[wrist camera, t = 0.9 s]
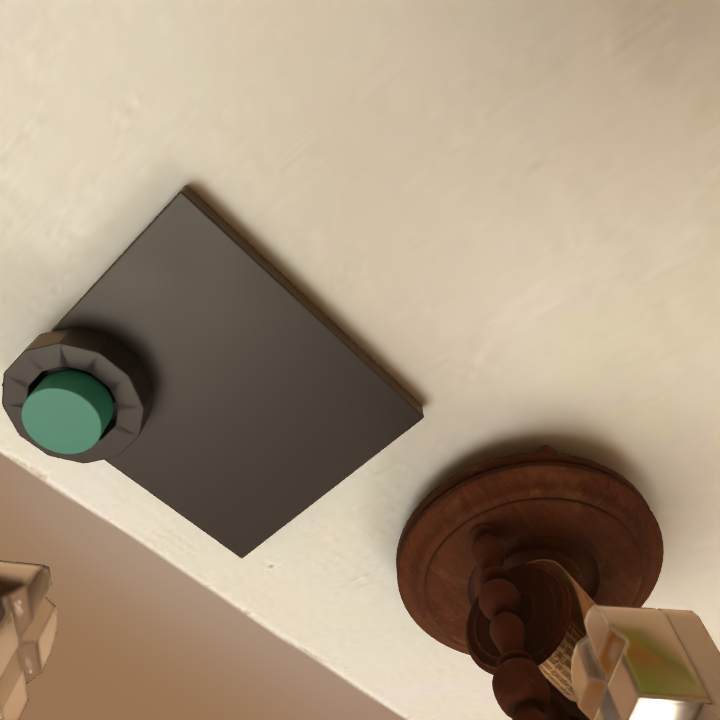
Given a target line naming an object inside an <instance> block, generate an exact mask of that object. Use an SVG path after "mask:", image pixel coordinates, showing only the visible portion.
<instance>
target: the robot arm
mask: <svg viewBox="0 0 720 720" xmlns="http://www.w3.org/2000/svg"><path fill="white" fill-rule="evenodd" d="M51 585H52V580H51V575H50V570H49V567H47V566H45V565H41V564H31V563H20V562H10V561H1V560H0V720H19V719H20V717H21V715H22V713H23V711H24V709H25V707H26V705H27V703H28V701H29V700H28V695H27V689H26V684H27V683H29V682H30V681H32V680H33V679H34V678H36V677H37V676H38V675H40V674H41V673H42V672H43V670H44V668H45V665H46V663H47V661H48V659H49V657H50V655H51V651H52V647H53V643H54V639H55V635H56V627H57V614H56V606H55V605H54V604H53V603H52V602H51V601H50V600H49V599H48V598H47V597H46V595H47V593H48V591H49V589H50V587H51ZM584 624H585V627H586V629H587V632H588V635H586V636H585V637H584V638H582V639H581V640H579V641H578V642H577V643H576V646H575V649H574V652H573V655H572V661H571V680H572V686H573V692H574V696H575V699H576V702H577V705H578V708H579V709H580V710H581V711H582V712H583V713H584V714H585V715H586V716H587V717H588V718H589V719H590V720H720V652H719V650H718V649H717V647H716V645H715V644H714V642H713V640H712V638H711V637H710V635H709V633H708V631H707V630H706V628H705V626H704V624H703V623H702V621H701V619H700V618H699V616H697V615H696V614H695V613H694V612H693V611H688V610H672V609H655V608H642V607H626V606H610V605H593V606H592V607H591V608H590V609H589V610H588V612H587V615H586V618H585V620H584Z"/></svg>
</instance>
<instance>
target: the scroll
mask: <svg viewBox="0 0 720 720" xmlns="http://www.w3.org/2000/svg"><path fill="white" fill-rule="evenodd" d="M662 562H663V540H662V535H661V531H660V528H659V525H658V522H657V520H656V518H655V517H654V515H653V513H652V511H651V510H650V508H649V506H648V504H647V502H646V501H645V499H644V498H643V496H642V495H641V494H640V492H639V491H638V490H637V489H636V488H635V487H634V486H633V485H632V484H631V483H630V482H629V481H627V480H626V479H625V478H624V477H622V476H621V475H619V474H618V473H617V472H615V471H613V470H611V469H609V468H608V467H606V466H604V465H601V464H599V463H596V462H594V461H591V460H588V459H584V458H581V457H576V456H571V455H566V454H558V453H557V451H556V450H554V449H553V448H552V447H550V446H548V445H544V446H542V447H541V448H540V451H539V453H525V454H517V455H511V456H506V457H501V458H497V459H494V460H490V461H487V462H484V463H481V464H478V465H476V466H473V467H471V468H469V469H467V470H465V471H462V472H460V473H459V474H457V475H455V476H453V477H452V478H450V479H448V480H447V481H446V482H444V483H443V484H441V485H440V486H438V487H437V488H436V489H435V490H434V491H432V492H431V493H430V494H429V495H428V496H427V497H426V498H425V499H424V500H423V501H422V502H421V503H420V504H419V506H418V507H417V508H416V509H415V510H414V512H413V513H412V515H411V516H410V518H409V519H408V521H407V523H406V525H405V527H404V529H403V531H402V534H401V537H400V540H399V544H398V548H397V557H396V567H397V580H398V587H399V592H400V595H401V598H402V601H403V603H404V605H405V607H406V609H407V611H408V612H409V614H410V616H411V617H412V618H413V619H414V621H415V622H416V623H417V624H418V625H419V626H420V627H421V628H422V629H423V630H424V631H425V632H426V633H427V634H429V635H430V636H431V637H433V638H434V639H436V640H437V641H439V642H440V643H442V644H444V645H446V646H448V647H450V648H452V649H455V650H457V651H459V652H462V653H465V654H468V655H471V657H472V659H473V660H474V662H475V663H476V664H477V665H478V666H479V667H480V668H481V669H483V670H484V671H486V672H488V673H490V674H492V675H494V676H493V681H492V686H493V691H494V695H495V697H496V700H497V702H498V704H499V705H500V707H501V709H502V710H503V711H504V712H505V714H506V715H507V716H509V717H511V718H512V720H590V719H589V718H588V717H587V716H586V715H585V714H584V713H583V712H582V711H581V710H580V709H579V708H578V705H577V702H576V699H575V696H574V692H573V686H572V680H571V661H572V655H573V652H574V649H575V646H576V643H577V642H578V641H579V640H581V639H582V638H584V637H585V636H586V635H588V632H587V629H586V627H585V624H584V620H585V618H586V615H587V612H588V610H589V609H590V608H591V607H592V606H593V605H610V606H626V607H642V605H643V604H644V603H645V601H646V600H647V599H648V597H649V595H650V594H651V592H652V591H653V589H654V587H655V585H656V582H657V580H658V577H659V574H660V572H661V567H662Z"/></svg>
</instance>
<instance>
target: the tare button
mask: <svg viewBox="0 0 720 720" xmlns="http://www.w3.org/2000/svg"><path fill="white" fill-rule="evenodd" d="M112 415H113V401H112V398H111V395H110V393H109V392H108V390H107V389H106V387H105V386H104V385H103V384H102V383H101V382H100V381H98V380H97V379H96V378H94V377H92V376H91V375H89V374H86V373H84V372H80V371H76V370H61V371H57V372H53V373H51V374H49V375H48V376H46V377H45V378H44V379H43V380H42V381H41V382H40V384H39V385H38V386H37V387H36V388H35V389H34V391H33V392H32V393H31V394H30V395H29V397H28V398H27V399H26V400H25V402H24V404H23V407H22V412H21V417H22V422H23V425H24V427H25V430H26V431H27V433H28V434H29V435H30V437H31V438H32V439H33V440H34V441H35V442H37V443H38V444H39V445H41V446H43V447H44V448H46V449H48V450H51V451H53V452H57V453H62V454H76V453H81V452H84V451H86V450H88V449H90V448H91V447H93V446H94V445H95V444H96V443H97V442H98V440H99V438H100V437H101V435H102V433H103V432H104V430H105V428H106V427H107V425H108V423H109V422H110V420H111V418H112Z"/></svg>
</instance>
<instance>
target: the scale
mask: <svg viewBox="0 0 720 720" xmlns="http://www.w3.org/2000/svg"><path fill="white" fill-rule="evenodd" d="M61 370H76V371H80V372H84V373H86V374H89V375H91V376H92V377H94V378H96V379H97V380H98V381H100V382H101V383H102V384H103V385H104V386H105V387H106V389H107V390H108V392H109V393H110V395H111V398H112V401H113V415H112V418H111V420H110V422H109V423H108V425H107V427H106V428H105V430H104V432H103V433H102V435H101V437H100V438H99V440H98V442H97V443H96V444H95V445H94V446H93V447H91V448H90V449H88V450H86V451H84V452H81V453H76V454H62V453H57V452H53V451H51V450H48V449H46V448H44V447H43V446H41V445H39V444H38V443H37V442H35V441H34V440H33V439H32V438H31V437H30V435H29V434H28V433H27V431H26V430H25V427H24V425H23V422H22V417H21V412H22V407H23V404H24V402H25V400H26V399H27V398H28V397H29V395H30V394H31V393H32V392H33V391H34V389H35V388H36V387H37V386H38V385H39V384H40V382H41V381H42V380H43V379H44V378H45V377H46V376H48V375H49V374H51V373H53V372H57V371H61ZM2 386H3V396H2V404H3V407H4V409H5V411H6V413H7V414H8V416H9V418H10V420H11V421H12V423H13V425H14V427H15V428H16V430H17V432H18V433H19V435H20V436H21V437H23V438H24V439H26V440H27V441H28V442H30V443H31V444H33V445H34V446H36V447H37V448H38V449H40V450H41V451H43V452H44V453H46V454H47V455H50V456H53V457H57V458H62V459H66V460H71V461H75V462H80V463H89V462H94V461H99V460H103V459H104V460H106V461H107V462H108V463H110V464H111V465H112V466H114V467H115V468H117V469H118V470H119V471H121V472H122V473H124V474H125V475H126V476H128V477H129V478H131V479H132V480H133V481H135V482H136V483H138V484H139V485H140V486H142V487H143V488H144V489H146V490H147V491H149V492H150V493H151V494H153V495H154V496H156V497H157V498H158V499H160V500H161V501H163V502H164V503H165V504H167V505H168V506H169V507H171V508H172V509H174V510H175V511H176V512H178V513H179V514H181V515H182V516H183V517H185V518H186V519H188V520H189V521H190V522H192V523H193V524H194V525H196V526H197V527H199V528H200V529H201V530H203V531H204V532H206V533H207V534H208V535H210V536H211V537H213V538H214V539H215V540H217V541H218V542H219V543H221V544H222V545H224V546H225V547H226V548H228V549H229V550H231V551H232V552H233V553H235V554H236V555H238V556H239V557H240V558H243V557H245V556H246V555H247V554H248V553H250V552H251V551H252V550H254V549H255V548H256V547H257V546H259V545H260V544H261V543H263V542H264V541H265V540H266V539H268V538H269V537H270V536H272V535H273V534H274V533H276V532H277V531H278V530H279V529H281V528H282V527H283V526H285V525H286V524H287V523H288V522H290V521H291V520H292V519H294V518H295V517H296V516H297V515H299V514H300V513H301V512H303V511H304V510H305V509H306V508H308V507H309V506H310V505H312V504H313V503H314V502H315V501H317V500H318V499H319V498H321V497H322V496H323V495H325V494H326V493H327V492H328V491H330V490H331V489H332V488H334V487H335V486H336V485H337V484H339V483H340V482H341V481H343V480H344V479H345V478H346V477H348V476H349V475H350V474H352V473H353V472H354V471H355V470H357V469H358V468H359V467H361V466H362V465H363V464H364V463H366V462H367V461H368V460H370V459H371V458H372V457H373V456H375V455H376V454H377V453H379V452H380V451H381V450H383V449H384V448H385V447H386V446H388V445H389V444H390V443H392V442H393V441H394V440H395V439H397V438H398V437H399V436H401V435H402V434H403V433H404V432H406V431H407V430H408V429H410V428H411V427H412V426H413V425H415V424H416V423H417V422H419V421H420V420H421V419H422V418H423V417H424V414H423V408H422V405H421V404H420V403H419V402H418V401H417V400H416V399H415V398H414V397H412V396H411V395H410V394H409V393H408V392H407V391H406V390H405V389H404V388H403V387H402V386H401V385H400V384H399V383H398V382H396V381H395V380H394V379H393V378H392V377H391V376H390V375H389V374H388V373H387V372H386V371H385V370H384V369H383V368H382V367H380V366H379V365H378V364H377V363H376V362H375V361H374V360H373V359H372V358H371V357H370V356H369V355H368V354H367V353H366V352H364V351H363V350H362V349H361V348H360V347H359V346H358V345H357V344H356V343H355V342H354V341H353V340H352V339H351V338H350V337H348V336H347V335H346V334H345V333H344V332H343V331H342V330H341V329H340V328H339V327H338V326H337V325H336V324H335V323H334V322H332V321H331V320H330V319H329V318H328V317H327V316H326V315H325V314H324V313H323V312H322V311H321V310H320V309H319V308H318V307H317V306H315V305H314V304H313V303H312V302H311V301H310V300H309V299H308V298H307V297H306V296H305V295H304V294H303V293H302V292H301V291H299V290H298V289H297V288H296V287H295V286H294V285H293V284H292V283H291V282H290V281H289V280H288V279H287V278H286V277H285V276H283V275H282V274H281V273H280V272H279V271H278V270H277V269H276V268H275V267H274V266H273V265H272V264H271V263H270V262H269V261H267V260H266V259H265V258H264V257H263V256H262V255H261V254H260V253H259V252H258V251H257V250H256V249H255V248H254V247H253V246H251V245H250V244H249V243H248V242H247V241H246V240H245V239H244V238H243V237H242V236H241V235H240V234H239V233H238V232H237V231H235V230H234V229H233V228H232V227H231V226H230V225H229V224H228V223H227V222H226V221H225V220H224V219H223V218H222V217H221V216H219V215H218V214H217V213H216V212H215V211H214V210H213V209H212V208H211V207H210V206H209V205H208V204H207V203H206V202H205V201H203V200H202V199H201V198H200V197H199V196H198V195H197V194H196V193H195V192H194V191H193V190H192V189H191V188H190V187H189V186H187V185H186V186H185V187H184V188H183V189H182V190H181V191H180V192H179V193H178V194H177V195H176V196H175V197H174V198H173V199H172V200H171V202H170V203H169V204H168V205H167V206H166V207H165V208H164V209H163V210H162V211H161V212H160V213H159V215H158V216H157V217H156V218H155V219H154V220H153V221H152V222H151V223H150V224H149V225H148V226H147V228H146V229H145V230H144V231H143V232H142V233H141V234H140V235H139V236H138V237H137V238H136V239H135V241H134V242H133V243H132V244H131V245H130V246H129V247H128V248H127V249H126V250H125V251H124V252H123V254H122V255H121V256H120V257H119V258H118V259H117V260H116V261H115V262H114V263H113V264H112V265H111V267H110V268H109V269H108V270H107V271H106V272H105V273H104V274H103V275H102V276H101V277H100V278H99V280H98V281H97V282H96V283H95V284H94V285H93V286H92V287H91V288H90V289H89V290H88V291H87V293H86V294H85V295H84V296H83V297H82V298H81V299H80V300H79V301H78V302H77V303H76V304H75V305H74V307H73V308H72V309H71V310H70V311H69V312H68V313H67V314H66V315H65V316H64V317H63V318H62V320H61V321H60V322H59V323H58V324H57V325H56V326H55V327H54V328H53V329H52V330H51V331H50V332H48V333H44V334H41V335H39V336H38V337H37V338H36V339H35V340H34V341H33V342H32V343H31V344H30V345H29V346H28V347H27V348H26V349H25V351H24V352H23V353H22V354H21V355H20V356H19V357H18V358H17V359H16V360H15V361H14V362H13V364H12V365H11V366H10V367H9V368H8V369H7V370H6V371H5V372H4V378H3V383H2Z"/></svg>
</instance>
